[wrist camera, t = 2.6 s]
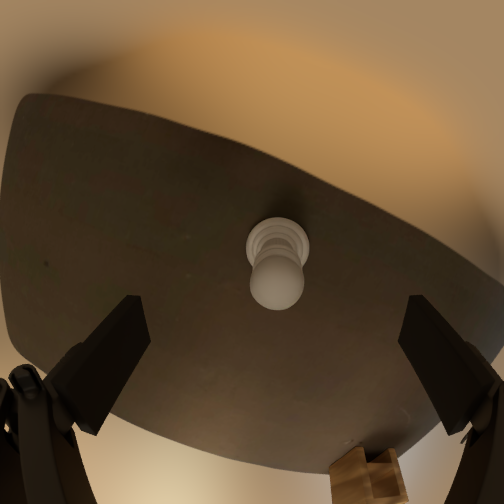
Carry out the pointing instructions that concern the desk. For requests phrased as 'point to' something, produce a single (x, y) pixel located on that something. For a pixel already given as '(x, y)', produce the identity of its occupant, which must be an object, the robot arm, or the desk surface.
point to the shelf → (367, 479)
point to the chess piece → (277, 262)
